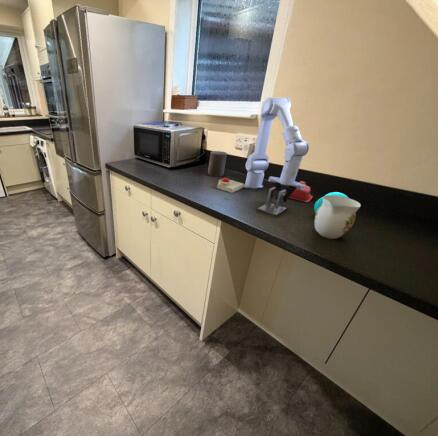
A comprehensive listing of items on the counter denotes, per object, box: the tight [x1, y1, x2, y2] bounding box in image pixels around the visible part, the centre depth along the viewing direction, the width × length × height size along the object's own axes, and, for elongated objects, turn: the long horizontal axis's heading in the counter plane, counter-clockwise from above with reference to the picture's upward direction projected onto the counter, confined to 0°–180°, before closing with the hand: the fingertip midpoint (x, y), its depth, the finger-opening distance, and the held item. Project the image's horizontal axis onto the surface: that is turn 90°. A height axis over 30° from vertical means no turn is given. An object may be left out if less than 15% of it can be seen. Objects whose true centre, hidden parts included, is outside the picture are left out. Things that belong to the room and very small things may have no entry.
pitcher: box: [313, 195, 362, 240], centre depth 83 cm, size 11×18×14 cm, turn 127°
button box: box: [216, 178, 245, 194], centre depth 126 cm, size 12×10×4 cm
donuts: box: [313, 191, 349, 214], centre depth 95 cm, size 10×10×10 cm
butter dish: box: [285, 180, 314, 203], centre depth 113 cm, size 12×12×8 cm
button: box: [221, 177, 230, 182], centre depth 124 cm, size 4×4×2 cm
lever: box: [272, 190, 286, 201], centre depth 102 cm, size 12×3×3 cm, turn 132°
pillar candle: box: [207, 150, 228, 178], centre depth 144 cm, size 10×10×15 cm
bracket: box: [257, 186, 287, 216], centre depth 100 cm, size 10×8×10 cm
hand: (280, 200), depth 106 cm, fingers closed on lever, 3 cm apart
